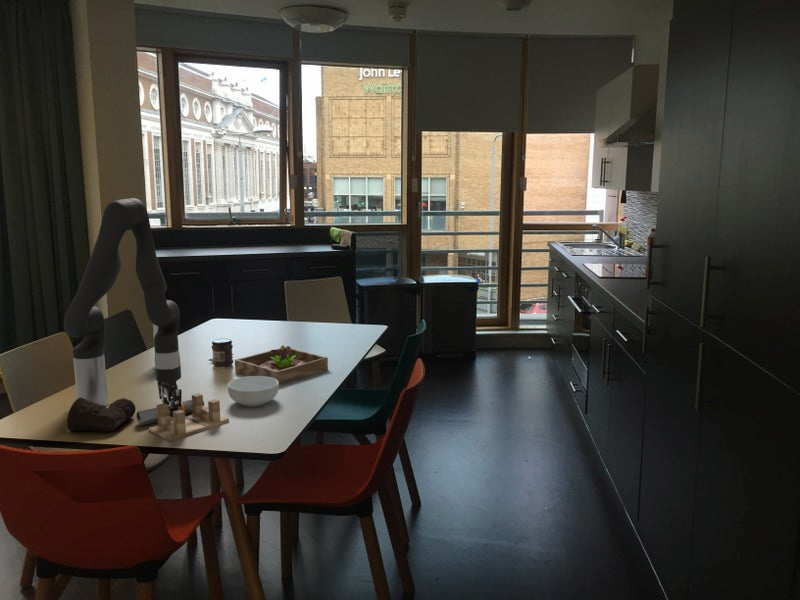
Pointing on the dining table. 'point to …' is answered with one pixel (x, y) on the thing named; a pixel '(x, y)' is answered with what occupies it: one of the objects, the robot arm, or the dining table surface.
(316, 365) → the planter box
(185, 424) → the cradle board
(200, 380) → the dining table surface
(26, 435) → the dining table surface
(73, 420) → the dark brown boot
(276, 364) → the plant
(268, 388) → the cereal bowl
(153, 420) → the tube
